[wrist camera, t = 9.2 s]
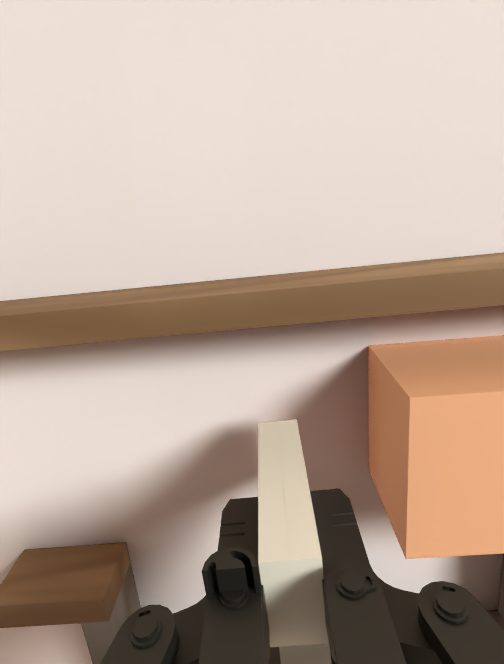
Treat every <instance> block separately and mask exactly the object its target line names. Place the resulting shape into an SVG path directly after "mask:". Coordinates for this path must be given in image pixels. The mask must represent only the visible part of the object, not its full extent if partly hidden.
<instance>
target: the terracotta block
mask: <svg viewBox="0 0 504 664" xmlns="http://www.w3.org/2000/svg"><path fill="white" fill-rule="evenodd" d="M369 472H370V475H371V477H372V479H373V482H374V484H375V487H376V489H377V491H378V494H379V496H380V498H381V501H382V503H383V506H384V508H385V510H386V513H387V515H388V518H389V520H390V522H391V525H392V527H393V529H394V532H395V534H396V537H397V539H398V541H399V544H400V546H401V549H402V551H403V553H404V556H405V558H406V559H413V558H431V557H449V556H466V555H484V554H502V553H504V335H501V336H488V337H475V338H462V339H449V340H436V341H423V342H410V343H397V344H383V345H370V346H369Z"/></svg>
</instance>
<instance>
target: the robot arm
mask: <svg viewBox="0 0 504 664" xmlns="http://www.w3.org/2000/svg"><path fill="white" fill-rule="evenodd" d="M202 575H203V580H204V585H205V591H206V596H205V597H204V598H203V599H202V600H201V601H199V602H198V603H197V604H195V605H193V606H191V607H189V608H187V609H184V610H181V611H179V612H176V613H174V614H172V612H171V611H170V610H169V609H168V608H166V607H164V606H161V605H148V606H145V607H143V608H140V609H138V610H137V611H135V612H134V613H133V614H131V615H130V616H129V617H128V618H127V619H126V621H125V622H124V623H123V624H122V626H121V627H120V629H119V631H118V633H117V634H116V636H115V638H114V640H113V641H112V643H111V645H110V647H109V649H108V650H107V652H106V654H105V656H104V658H103V659H102V661H101V663H100V664H271V660H270V647H283V646H297V645H311V644H326V643H329V647H330V655H331V664H504V631H503V630H502V628H501V627H500V626H499V625H498V624H497V622H496V621H495V620H494V619H493V618H492V617H491V615H490V614H489V613H488V612H487V611H486V609H485V608H484V607H483V606H482V605H481V604H480V602H479V601H478V600H477V599H476V598H475V597H474V596H473V595H472V594H471V593H469V592H468V591H467V590H466V589H464V588H462V587H460V586H458V585H456V584H453V583H448V582H444V581H440V582H431V583H430V584H428V585H426V586H424V587H423V588H422V590H421V592H420V593H419V594H418V593H413V592H408V591H404V590H400V589H397V588H394V587H392V586H390V585H388V584H386V583H384V582H383V581H382V580H381V579H380V578H378V577H377V575H376V574H375V573H374V572H373V570H372V568H371V566H370V564H369V560H368V557H367V554H366V551H365V548H364V544H363V541H362V538H361V535H360V532H359V528H358V525H357V522H356V519H355V516H354V513H353V509H352V506H351V503H350V500H349V498H348V497H347V496H346V495H345V494H344V493H343V492H342V491H341V490H340V489H330V490H319V491H310V489H309V484H308V478H307V473H306V467H305V462H304V456H303V451H302V445H301V440H300V434H299V429H298V423H297V419H295V420H284V421H274V422H264V423H258V497H251V498H240V499H230V500H229V502H228V503H227V505H226V506H225V508H224V510H223V511H222V519H221V528H220V538H219V545H218V551H217V552H215V553H214V554H212V555H211V556H210V557H209V558H208V559H207V561H206V562H205V564H204V566H203V569H202Z"/></svg>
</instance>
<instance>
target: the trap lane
mask: <svg viewBox="0 0 504 664" xmlns="http://www.w3.org/2000/svg"><path fill="white" fill-rule="evenodd" d="M502 305H504V253H495V254H485V255H475V256H464V257H454V258H444V259H433V260H423V261H413V262H402V263H392V264H382V265H371V266H361V267H350V268H340V269H330V270H319V271H309V272H299V273H288V274H278V275H268V276H257V277H247V278H237V279H226V280H216V281H205V282H195V283H185V284H174V285H164V286H154V287H143V288H133V289H123V290H112V291H102V292H91V293H81V294H71V295H60V296H50V297H40V298H29V299H19V300H9V301H0V351H9V350H20V349H31V348H42V347H53V346H64V345H75V344H86V343H97V342H107V341H118V340H129V339H140V338H151V337H162V336H173V335H184V334H195V333H206V332H217V331H228V330H239V329H250V328H261V327H272V326H283V325H294V324H305V323H316V322H326V321H337V320H348V319H359V318H370V317H381V316H392V315H403V314H414V313H425V312H436V311H447V310H458V309H469V308H480V307H491V306H502ZM140 608H141V607H140V603H139V598H138V594H137V590H136V585H135V581H134V577H133V572H132V568H131V564H130V559H129V555H128V551H127V546H126V543H114V544H100V545H86V546H72V547H57V548H43V549H29V550H24V552H23V553H22V555H21V556H20V557H19V559H18V560H17V562H16V563H15V565H14V566H13V568H12V569H11V571H10V572H9V574H8V575H7V577H6V578H5V579H4V581H3V582H2V584H1V585H0V628H9V627H25V626H41V625H57V624H73V623H81V624H82V628H83V631H84V635H85V638H86V641H87V645H88V648H89V652H90V655H91V659H92V662H93V664H100V663H101V661H102V659H103V658H104V656H105V654H106V652H107V650H108V649H109V647H110V645H111V643H112V641H113V640H114V638H115V636H116V634H117V633H118V631H119V629H120V627H121V626H122V624H123V623H124V622H125V621H126V619H127V618H128V617H129V616H130V615H131V614H133V613H134V612H135V611H137V610H138V609H140ZM487 612H488V613H489V614H490V615H491V617H492V618H493V619H494V620H495V621H496V622H497V624H498V625H499V626H500V627H501V628H502V630H503V631H504V555H503V565H502V576H501V586H500V597H499V607H498V611H487ZM270 660H271V664H331V655H330V647H329V643H326V644H311V645H297V646H283V647H270Z"/></svg>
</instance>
